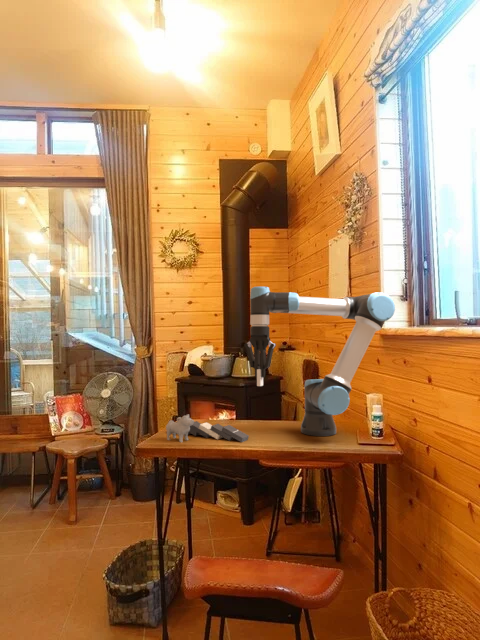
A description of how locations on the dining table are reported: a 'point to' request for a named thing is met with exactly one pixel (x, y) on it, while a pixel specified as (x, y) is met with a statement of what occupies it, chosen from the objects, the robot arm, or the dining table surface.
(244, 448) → the dining table surface
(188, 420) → the grey dog figurine
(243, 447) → the dining table surface
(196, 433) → the domino
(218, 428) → the domino
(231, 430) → the domino
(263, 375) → the robot arm
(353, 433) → the dining table surface
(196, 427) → the domino
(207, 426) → the cream domino
